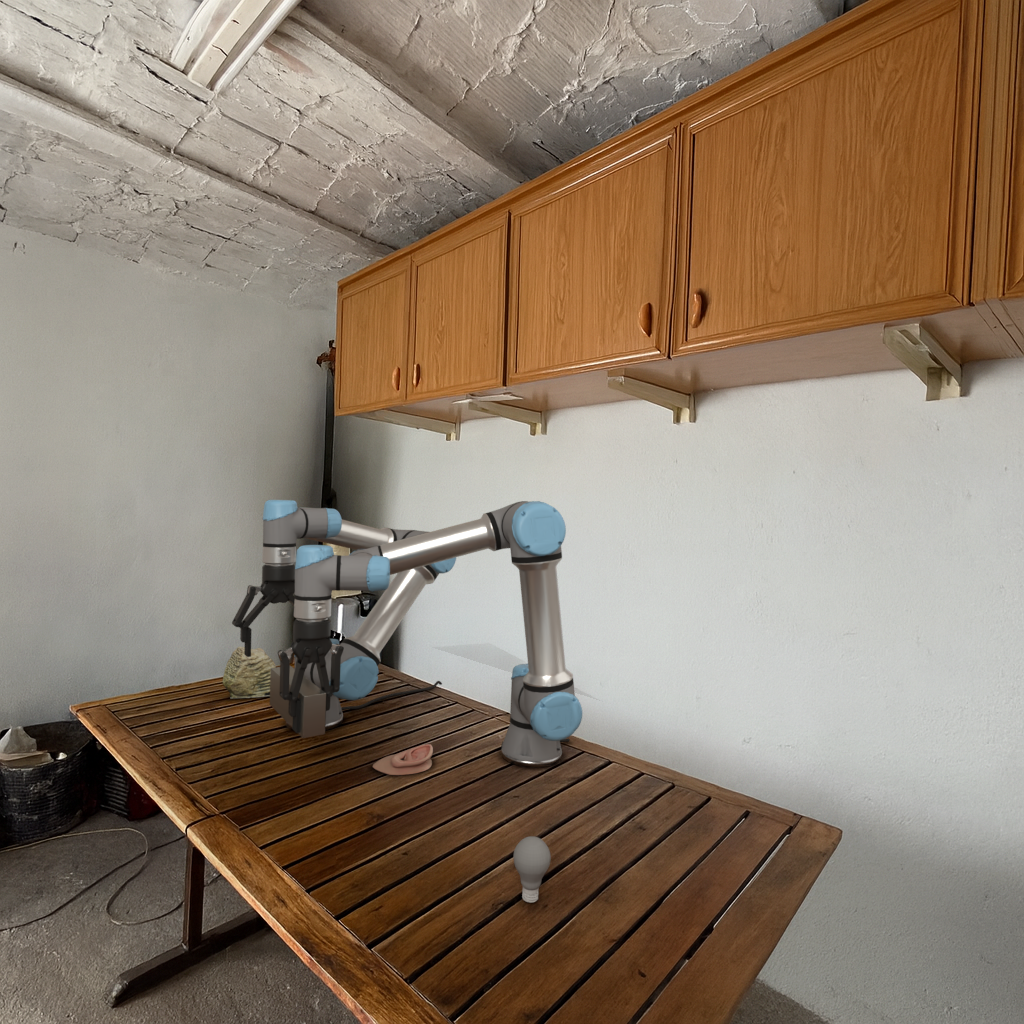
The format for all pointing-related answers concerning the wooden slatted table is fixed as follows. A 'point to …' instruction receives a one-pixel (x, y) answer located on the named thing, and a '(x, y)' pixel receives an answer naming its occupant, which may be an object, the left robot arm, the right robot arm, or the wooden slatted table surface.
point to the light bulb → (531, 865)
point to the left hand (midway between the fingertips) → (277, 652)
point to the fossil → (248, 674)
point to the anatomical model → (406, 761)
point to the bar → (310, 704)
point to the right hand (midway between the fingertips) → (308, 728)
